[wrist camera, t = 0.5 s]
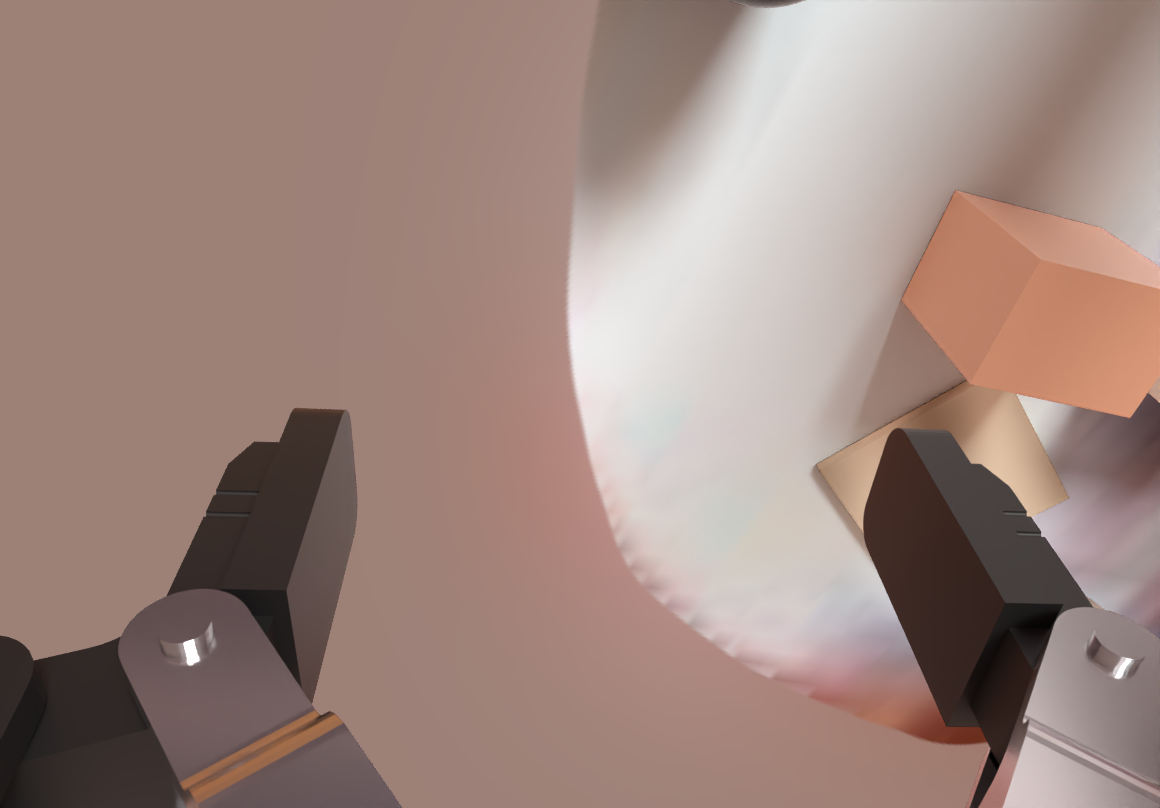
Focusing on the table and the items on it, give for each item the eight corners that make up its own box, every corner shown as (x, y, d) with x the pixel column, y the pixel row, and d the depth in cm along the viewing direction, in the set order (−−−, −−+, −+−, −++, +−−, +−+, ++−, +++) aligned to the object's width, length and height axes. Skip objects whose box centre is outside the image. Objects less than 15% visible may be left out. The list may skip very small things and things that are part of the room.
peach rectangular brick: (900, 300, 41) (969, 383, 35) (955, 190, 39) (1040, 259, 32) (1039, 331, 43) (1130, 418, 36) (1102, 227, 40) (1211, 301, 34)
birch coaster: (997, 363, 43) (1003, 369, 43) (1063, 491, 48) (1069, 498, 48) (816, 464, 46) (819, 471, 46) (895, 575, 51) (899, 583, 50)
